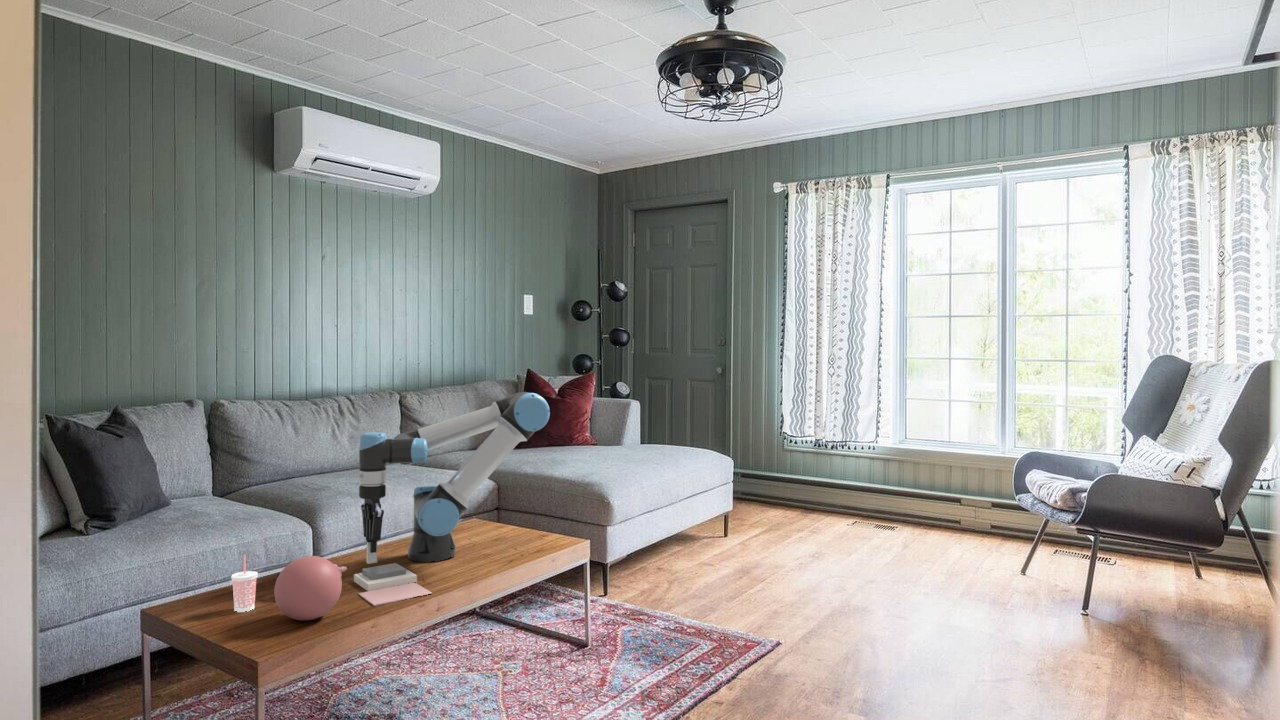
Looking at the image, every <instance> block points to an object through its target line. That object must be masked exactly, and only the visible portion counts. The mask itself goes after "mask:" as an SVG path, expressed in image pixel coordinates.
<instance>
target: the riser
mask: <svg viewBox="0 0 1280 720" xmlns="http://www.w3.org/2000/svg"><path fill="white" fill-rule="evenodd" d="M405 569H406V574H405V575H399V576H394V577H389V578H383V579H378V580H370V579H369V578H367V577H366V576H364V575H363V574H362V572H359V573H355V574H354V573H353V582H354V583H355V584H357V585H358V586H360V587H361V588H363V589H364V590H365V591H366V592H368V591H373V590H378V589H383V588H389V587H394V586H398V585H404V584H408V583H413V582H416V583H418V574H415V573H414V572H412V571H410V570H408V569H407V568H405Z"/></svg>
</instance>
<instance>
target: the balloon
mask: <svg viewBox="0 0 1280 720" xmlns="http://www.w3.org/2000/svg"><path fill="white" fill-rule="evenodd" d="M347 570H348V568H347V566H338V564H336V563H333V562H332V561H330V560H328V559H327V558H324V557H322V556H318V555H307V556H302V557H299V558H297V559H295V560H292V561H291V562H290V563H288V564H287V565H286V566H285V567H284V568H282V570H281V573H280V572H279V573H280V574H279V576H278V578H277V577H276V580H275V581H276V584H275V583H274V584H275V587H274V588H273V590H274V591H273V592H274V601H275V603H276V605H277V607H278V609H279V610H280V611H281V612H282V613H283V614H284V615H285V616H286V617H288V618H290V619H293V620H297V621H312V620H316V619H319V618H321V617H323V616H324V615H326V614H328V613H329V612H330V611H331V610H332V609H333V608H334V607H335V605H336V604H337V603H338V600H340V599H339V598H340V596H341V593H342V588H343V587H342V586H343V580H342V575H343V574H342V573H344V572H346V571H347Z"/></svg>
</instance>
